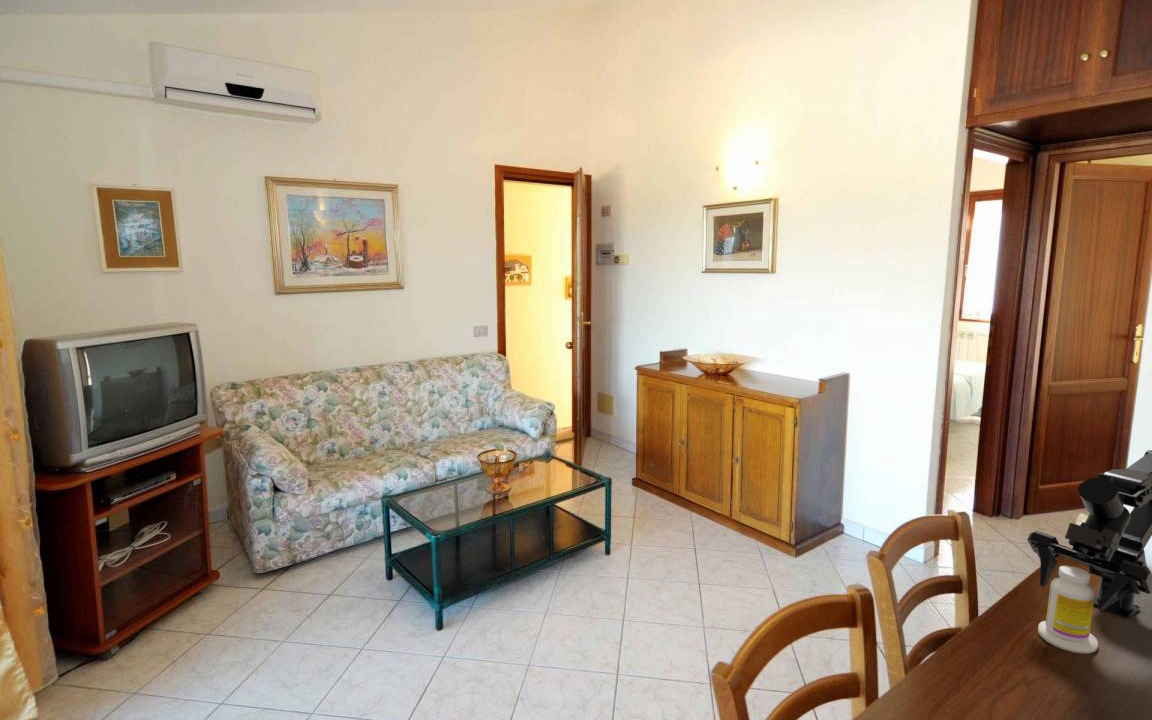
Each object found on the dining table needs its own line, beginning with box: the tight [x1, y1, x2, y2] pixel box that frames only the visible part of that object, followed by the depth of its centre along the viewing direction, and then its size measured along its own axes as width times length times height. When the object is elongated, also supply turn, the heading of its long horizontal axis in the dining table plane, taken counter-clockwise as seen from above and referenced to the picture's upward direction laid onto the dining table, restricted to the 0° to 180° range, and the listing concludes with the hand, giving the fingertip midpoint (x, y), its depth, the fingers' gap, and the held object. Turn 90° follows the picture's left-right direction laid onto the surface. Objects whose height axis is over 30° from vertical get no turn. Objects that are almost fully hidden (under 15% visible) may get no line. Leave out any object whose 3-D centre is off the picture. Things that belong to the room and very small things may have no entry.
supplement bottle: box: [1045, 565, 1096, 642], centre depth 118 cm, size 7×7×13 cm
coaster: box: [1037, 620, 1099, 655], centre depth 119 cm, size 9×9×1 cm
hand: (1069, 597), depth 117 cm, fingers open, 9 cm apart
